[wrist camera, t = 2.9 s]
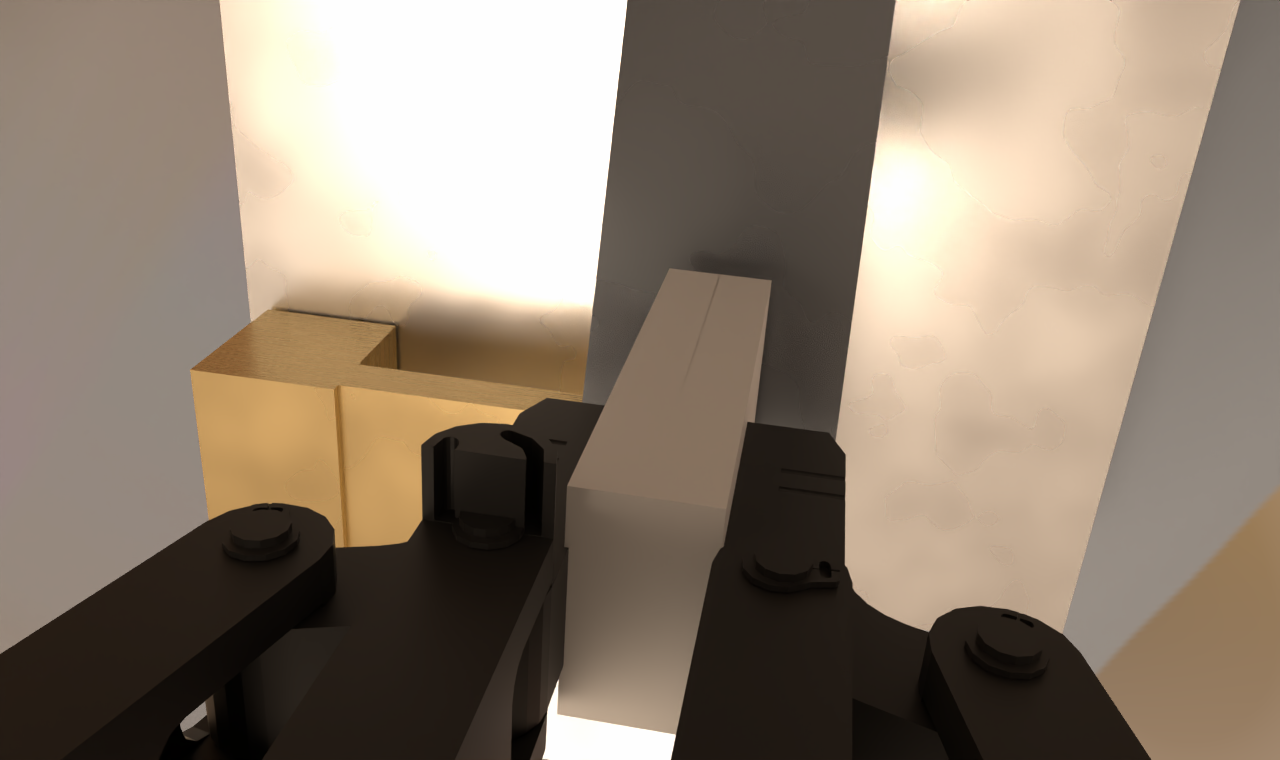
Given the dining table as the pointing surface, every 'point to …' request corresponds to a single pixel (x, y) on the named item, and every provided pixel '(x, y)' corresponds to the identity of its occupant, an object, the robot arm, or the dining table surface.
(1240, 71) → the dining table surface
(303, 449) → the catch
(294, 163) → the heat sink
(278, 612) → the robot arm
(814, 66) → the strap
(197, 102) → the dining table surface
